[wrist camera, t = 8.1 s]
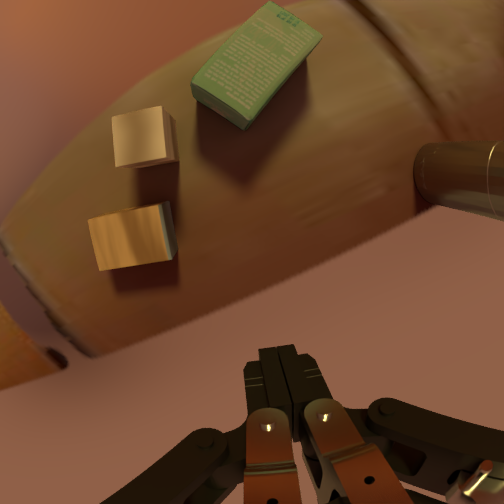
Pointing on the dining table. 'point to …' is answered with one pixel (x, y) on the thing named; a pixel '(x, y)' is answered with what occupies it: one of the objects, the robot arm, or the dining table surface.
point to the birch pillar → (145, 138)
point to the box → (254, 64)
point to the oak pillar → (134, 236)
